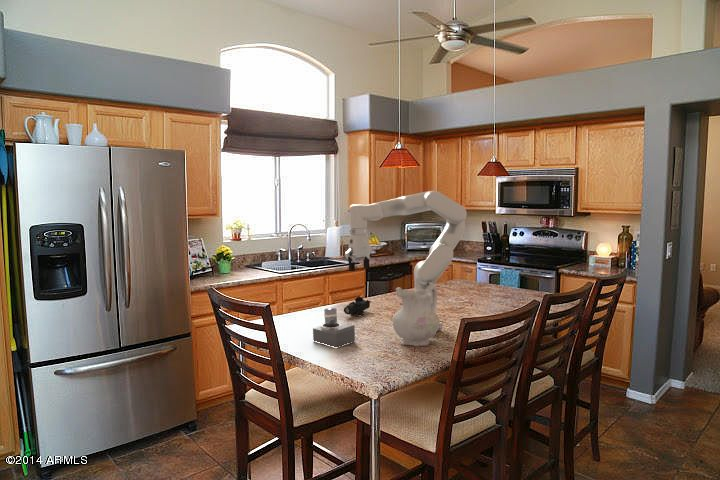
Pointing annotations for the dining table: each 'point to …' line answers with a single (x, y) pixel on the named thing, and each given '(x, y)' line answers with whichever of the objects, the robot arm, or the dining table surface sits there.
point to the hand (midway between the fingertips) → (359, 269)
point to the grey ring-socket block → (334, 334)
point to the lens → (330, 317)
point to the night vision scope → (357, 307)
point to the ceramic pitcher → (416, 316)
